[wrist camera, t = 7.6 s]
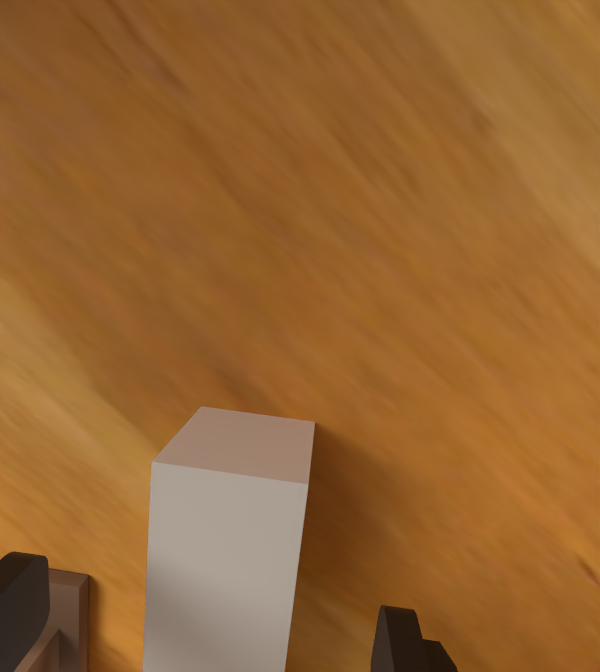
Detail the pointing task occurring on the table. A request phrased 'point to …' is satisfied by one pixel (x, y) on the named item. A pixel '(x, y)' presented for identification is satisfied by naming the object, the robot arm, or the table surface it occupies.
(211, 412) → the white rectangular block
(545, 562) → the table surface
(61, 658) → the rack
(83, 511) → the table surface
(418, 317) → the table surface
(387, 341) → the table surface
